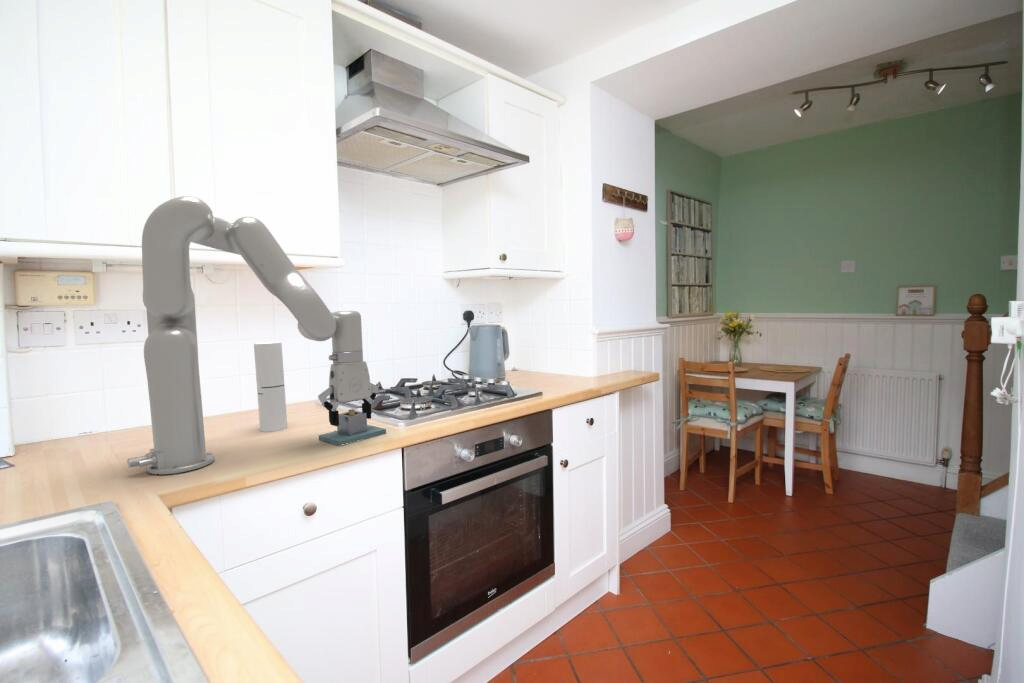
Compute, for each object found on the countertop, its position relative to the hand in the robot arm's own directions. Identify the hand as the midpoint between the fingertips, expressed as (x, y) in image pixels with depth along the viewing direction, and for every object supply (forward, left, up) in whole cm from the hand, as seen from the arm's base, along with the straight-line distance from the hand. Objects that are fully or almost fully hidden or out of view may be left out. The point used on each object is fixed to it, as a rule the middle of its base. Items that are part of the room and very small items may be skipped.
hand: (351, 421), depth 130 cm
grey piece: (-8, +28, -4) cm, 29 cm away
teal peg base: (0, 0, -4) cm, 4 cm away
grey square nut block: (0, 0, -3) cm, 3 cm away
